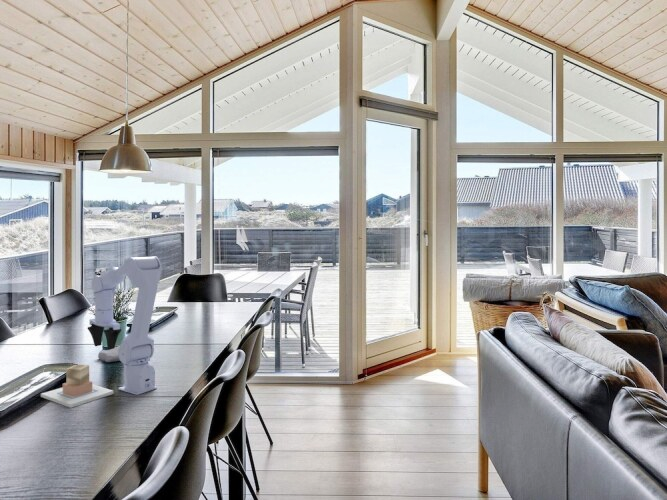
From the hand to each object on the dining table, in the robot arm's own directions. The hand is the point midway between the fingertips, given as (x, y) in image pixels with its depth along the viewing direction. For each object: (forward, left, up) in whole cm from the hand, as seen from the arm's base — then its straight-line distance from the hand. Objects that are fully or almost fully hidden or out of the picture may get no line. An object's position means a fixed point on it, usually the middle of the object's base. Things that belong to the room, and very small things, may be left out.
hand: (104, 347), depth 171 cm
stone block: (+16, -16, -11) cm, 25 cm away
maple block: (-10, +16, -6) cm, 20 cm away
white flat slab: (-10, +16, -10) cm, 22 cm away
